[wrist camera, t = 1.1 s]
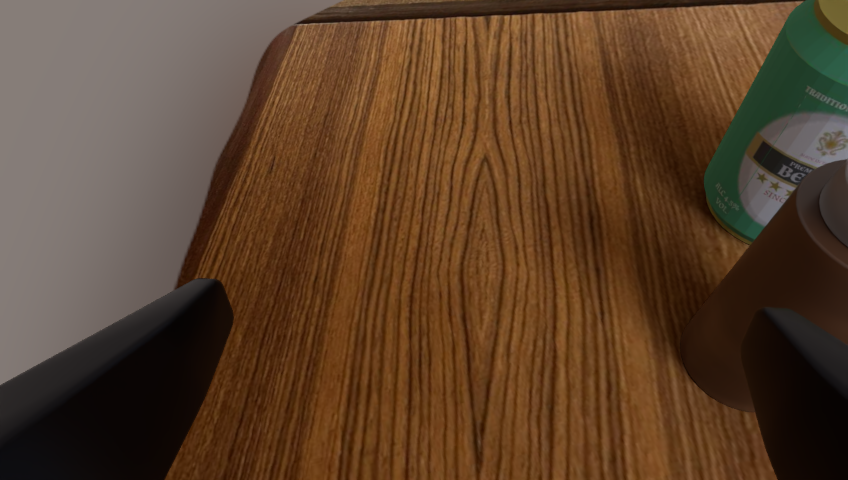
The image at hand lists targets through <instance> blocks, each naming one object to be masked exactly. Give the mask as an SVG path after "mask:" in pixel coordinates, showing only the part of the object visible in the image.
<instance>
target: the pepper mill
mask: <svg viewBox="0 0 848 480" xmlns="http://www.w3.org/2000/svg"><path fill="white" fill-rule="evenodd" d="M762 307H774V308H788V309H791V310H793V311H795V312H796V313H798V314H800V315H801V316H803V317H804V318H806V319H807V320H809V321H811V322H812V323H814V324H815V325H817V326H818V327H820V328H822V329H823V330H825V331H826V332H828V333H829V334H831V335H833V336H834V337H836V338H837V339H839V340H840V341H842V342H844V343H845V344H847V345H848V159H844V160H838V161H834V162H830V163H827V164H824V165H822V166H820V167H818V168H816V169H814V170H813V171H811V172H810V173H809V174H807V175H806V176H805V177H804V178H803V180H802V181H801V182H800V183H799V185H798V186H797V187H796V188H795V190H794V191H793V192H792V193H791V195H790V196H789V197H788V198H787V200H786V201H785V202H784V203H783V205H782V206H781V207H780V209H779V210H778V211H777V212H776V214H775V215H774V216H773V217H772V219H771V220H770V221H769V222H768V224H767V225H766V226H765V227H764V229H763V230H762V231H761V232H760V234H759V235H758V236H757V237H756V239H755V240H754V241H753V242H752V244H751V245H750V246H749V248H748V249H747V250H746V251H745V253H744V254H743V255H742V256H741V258H740V259H739V260H738V261H737V263H736V264H735V265H734V266H733V268H732V269H731V270H730V271H729V273H728V274H727V275H726V276H725V278H724V279H723V280H722V282H721V283H720V284H719V285H718V287H717V288H716V289H715V290H714V292H713V293H712V294H711V295H710V297H709V298H708V299H707V300H706V302H705V303H704V304H703V305H702V307H701V308H700V309H699V310H698V312H697V313H696V314H695V316H694V317H693V318H692V319H691V321H690V322H689V323H688V324H687V326H686V327H685V329H684V331H683V333H682V337H681V343H680V349H681V356H682V359H683V362H684V365H685V367H686V369H687V371H688V373H689V374H690V376H691V378H692V379H693V380H694V381H695V383H696V384H697V385H698V386H699V387H700V388H701V389H702V390H703V391H704V392H706V393H707V394H708V395H709V396H711V397H712V398H714V399H715V400H717V401H719V402H720V403H722V404H724V405H727V406H729V407H731V408H735V409H738V410H742V411H747V412H755V410H754V406H753V402H752V399H751V395H750V391H749V388H748V384H747V380H746V377H745V373H744V370H743V366H742V362H741V358H740V346H741V343H742V340H743V338H744V336H745V333H746V331H747V329H748V326H749V324H750V322H751V320H752V317H753V315H754V313H755V312H756V311H757V310H758V309H759V308H762Z"/></svg>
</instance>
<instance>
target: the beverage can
mask: <svg viewBox="0 0 848 480" xmlns="http://www.w3.org/2000/svg"><path fill="white" fill-rule="evenodd" d="M844 159H848V0H806V1H804V2H803V3H802V4H800V5H799V6H797V7H796V8H795V9H794V10H793V11H792V12H791V14H790V15H789V17H788V19H787V20H786V22H785V24H784V26H783V28H782V30H781V32H780V33H779V35H778V37H777V39H776V41H775V43H774V45H773V46H772V48H771V50H770V52H769V54H768V56H767V58H766V59H765V61H764V63H763V65H762V67H761V69H760V71H759V72H758V74H757V76H756V78H755V80H754V82H753V83H752V85H751V87H750V89H749V91H748V93H747V95H746V96H745V98H744V100H743V102H742V104H741V106H740V108H739V109H738V111H737V113H736V115H735V117H734V119H733V121H732V122H731V124H730V126H729V128H728V130H727V132H726V134H725V135H724V137H723V139H722V141H721V143H720V145H719V147H718V148H717V150H716V152H715V154H714V156H713V158H712V160H711V161H710V163H709V165H708V167H707V169H706V171H705V176H704V188H705V192H706V201H707V204H708V207H709V209H710V211H711V214H712V215H713V216H714V218H715V219H716V221H717V222H718V223H719V224H720V225H721V226H722V227H723V228H724V229H725V230H726V231H728V232H729V233H730V234H731V235H733V236H734V237H736V238H738V239H739V240H741V241H743V242H745V243H747V244H749V245H751V244H752V242H753V241H754V240H755V239H756V237H757V236H758V235H759V234H760V232H761V231H762V230H763V229H764V227H765V226H766V225H767V224H768V222H769V221H770V220H771V219H772V217H773V216H774V215H775V214H776V212H777V211H778V210H779V209H780V207H781V206H782V205H783V203H784V202H785V201H786V200H787V198H788V197H789V196H790V195H791V193H792V192H793V191H794V190H795V188H796V187H797V186H798V185H799V183H800V182H801V181H802V180H803V178H804V177H805V176H806V175H807V174H809V173H810V172H811V171H813V170H814V169H816V168H818V167H820V166H822V165H824V164H827V163H830V162H834V161H838V160H844Z"/></svg>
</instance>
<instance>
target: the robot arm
mask: <svg viewBox="0 0 848 480" xmlns="http://www.w3.org/2000/svg"><path fill="white" fill-rule="evenodd" d="M233 320H234V316H233V310H232V308H231V305H230V302H229V300H228V297H227V294H226V291H225V289H224V286H223V284H222V283H221V282H220V281H219V280H217V279H207V278H198V279H194V280H192V281H191V282H189V283H187V284H185V285H183V286H181V287H180V288H178V289H176V290H174V291H172V292H170V293H168V294H167V295H165V296H163V297H161V298H159V299H157V300H156V301H154V302H152V303H150V304H148V305H146V306H145V307H143V308H141V309H139V310H137V311H136V312H134V313H132V314H130V315H128V316H126V317H124V318H123V319H121V320H119V321H117V322H115V323H113V324H112V325H110V326H108V327H106V328H104V329H102V330H101V331H99V332H97V333H95V334H93V335H91V336H90V337H88V338H86V339H84V340H82V341H80V342H78V343H77V344H75V345H73V346H71V347H69V348H67V349H66V350H64V351H62V352H60V353H58V354H56V355H55V356H53V357H51V358H49V359H47V360H45V361H44V362H42V363H40V364H38V365H36V366H34V367H33V368H31V369H29V370H27V371H25V372H23V373H21V374H20V375H18V376H16V377H14V378H13V379H11V380H9V381H7V382H5V383H3V384H1V385H0V480H165V478H166V476H167V474H168V472H169V470H170V468H171V466H172V464H173V462H174V460H175V458H176V456H177V454H178V452H179V450H180V448H181V446H182V444H183V442H184V440H185V438H186V436H187V434H188V432H189V430H190V428H191V426H192V424H193V422H194V420H195V418H196V416H197V414H198V412H199V409H200V407H201V405H202V403H203V401H204V399H205V396H206V394H207V392H208V389H209V387H210V384H211V381H212V379H213V376H214V373H215V371H216V368H217V365H218V363H219V360H220V357H221V355H222V352H223V350H224V347H225V344H226V342H227V339H228V336H229V334H230V331H231V328H232V325H233ZM740 358H741V362H742V366H743V370H744V373H745V377H746V380H747V384H748V388H749V391H750V395H751V399H752V402H753V406H754V410H755V413H756V417H757V420H758V424H759V428H760V431H761V435H762V438H763V441H764V445H765V448H766V451H767V453H768V456H769V459H770V461H771V464H772V467H773V469H774V472H775V474H776V477H777V479H778V480H848V345H847V344H845V343H844V342H842V341H840V340H839V339H837V338H836V337H834V336H833V335H831V334H829V333H828V332H826V331H825V330H823V329H822V328H820V327H818V326H817V325H815V324H814V323H812V322H811V321H809V320H807V319H806V318H804V317H803V316H801V315H800V314H798V313H796V312H795V311H793V310H791V309H788V308H774V307H762V308H759V309H758V310H757V311H756V312H755V313H754V315H753V317H752V320H751V322H750V324H749V326H748V329H747V331H746V333H745V336H744V338H743V340H742V343H741V346H740Z"/></svg>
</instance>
